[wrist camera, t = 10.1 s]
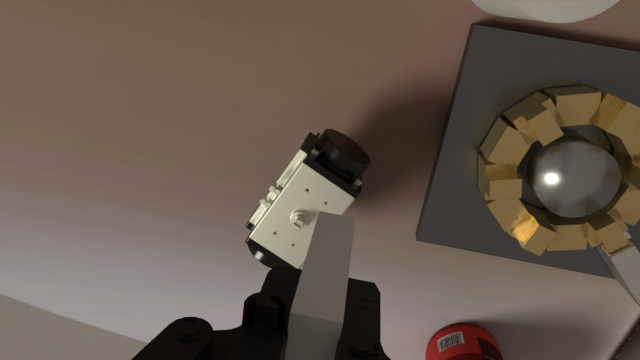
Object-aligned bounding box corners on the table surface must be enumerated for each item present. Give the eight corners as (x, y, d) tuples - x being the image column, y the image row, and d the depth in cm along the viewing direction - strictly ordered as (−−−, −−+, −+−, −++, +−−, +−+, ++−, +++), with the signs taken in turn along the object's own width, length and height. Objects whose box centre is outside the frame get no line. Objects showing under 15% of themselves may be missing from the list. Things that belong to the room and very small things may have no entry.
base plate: (471, 23, 38) (487, 27, 32) (719, 65, 36) (781, 76, 31) (415, 233, 45) (420, 265, 40) (619, 272, 44) (654, 311, 38)
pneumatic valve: (374, 135, 42) (372, 183, 31) (305, 224, 46) (282, 295, 35) (325, 101, 41) (305, 137, 30) (260, 194, 46) (222, 256, 35)
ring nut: (449, 146, 40) (458, 165, 35) (599, 52, 36) (632, 60, 31) (555, 303, 44) (576, 339, 39) (701, 236, 40) (743, 267, 35)
